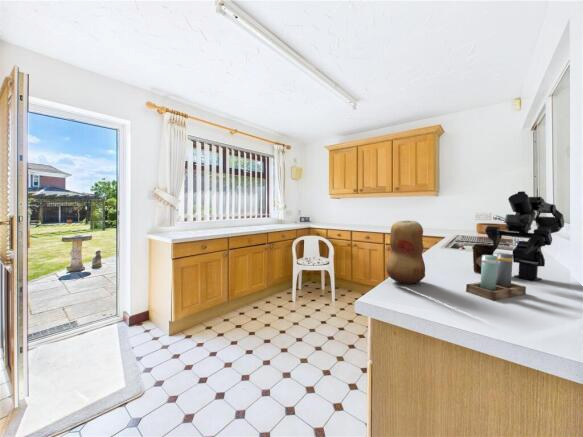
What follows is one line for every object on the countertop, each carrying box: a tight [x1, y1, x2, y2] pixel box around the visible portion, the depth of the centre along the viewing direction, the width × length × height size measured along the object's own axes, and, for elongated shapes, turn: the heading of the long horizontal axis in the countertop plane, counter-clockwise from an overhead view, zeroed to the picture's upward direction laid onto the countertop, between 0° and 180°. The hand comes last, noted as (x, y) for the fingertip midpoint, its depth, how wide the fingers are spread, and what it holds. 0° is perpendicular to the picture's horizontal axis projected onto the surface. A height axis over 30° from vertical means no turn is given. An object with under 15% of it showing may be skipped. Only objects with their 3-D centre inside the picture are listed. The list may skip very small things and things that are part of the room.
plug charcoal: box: [496, 252, 514, 288], centre depth 85 cm, size 4×4×13 cm
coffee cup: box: [471, 243, 496, 275], centre depth 111 cm, size 9×8×13 cm
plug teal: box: [480, 255, 497, 291], centre depth 83 cm, size 4×4×13 cm
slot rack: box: [465, 281, 527, 302], centre depth 84 cm, size 17×9×4 cm, turn 110°
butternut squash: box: [385, 219, 426, 285], centre depth 96 cm, size 14×13×25 cm
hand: (509, 251), depth 93 cm, fingers open, 9 cm apart
